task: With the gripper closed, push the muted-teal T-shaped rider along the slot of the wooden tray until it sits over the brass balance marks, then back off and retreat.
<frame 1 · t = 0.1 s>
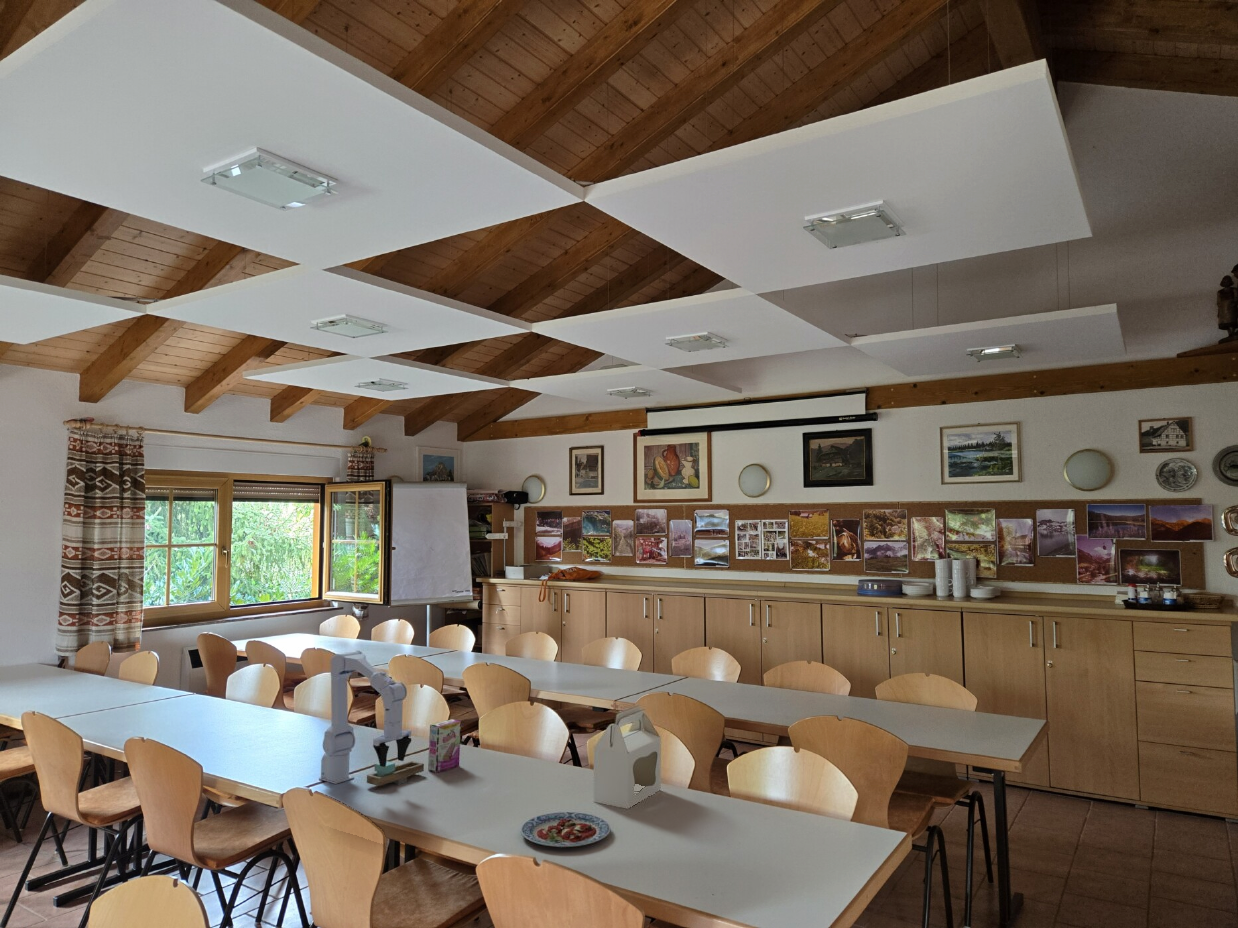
hand: (391, 763, 265), 10 cm above the table, fingers open, 7 cm apart
ceramic plate: (565, 836, 232), on the table
rider: (384, 770, 274), point 5 cm above the table, slide at -5.0 cm
gable box: (627, 796, 265), on the table
wooden tray: (395, 781, 278), on the table
candy bar box: (444, 768, 293), on the table
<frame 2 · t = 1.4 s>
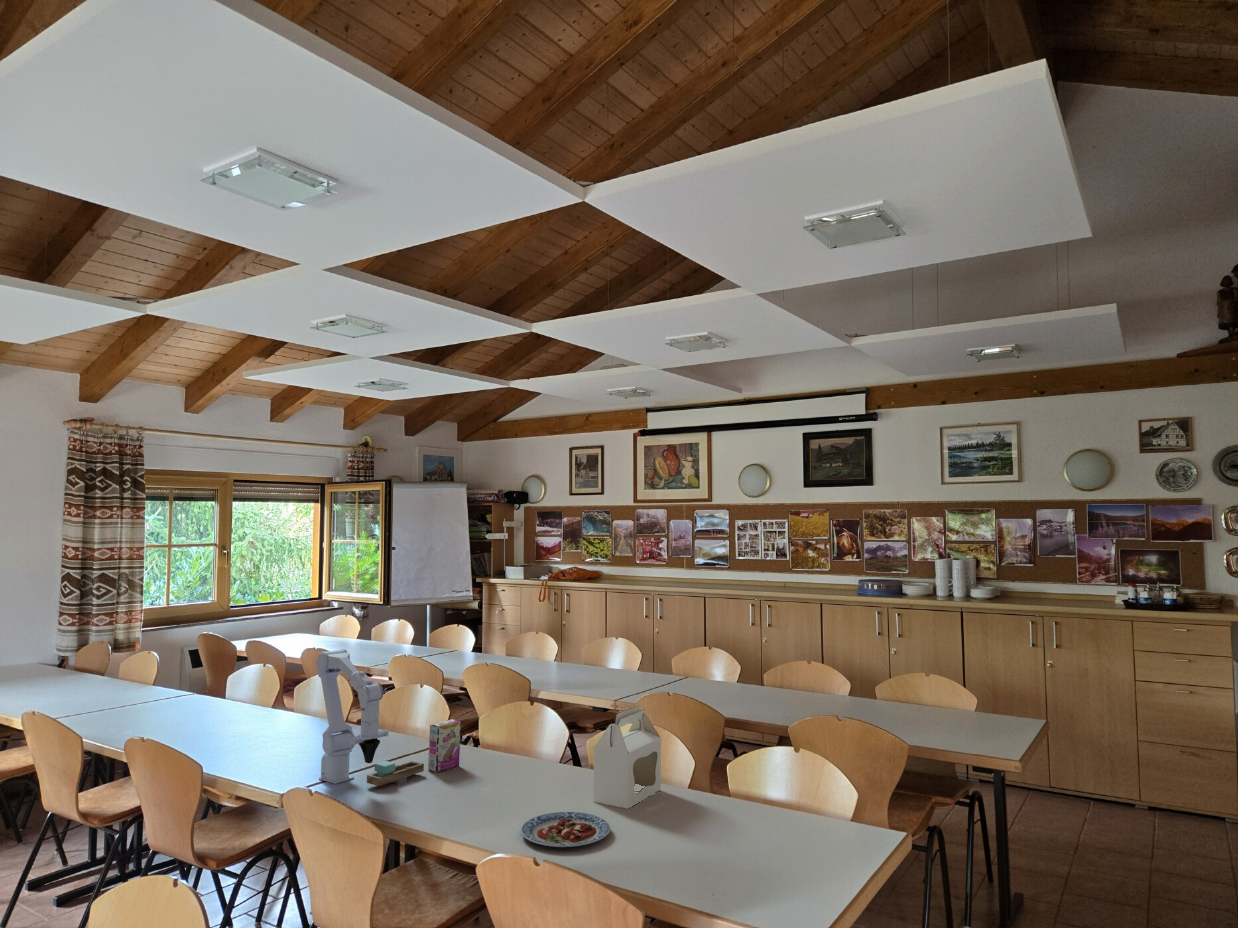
hand: (368, 762, 268), 9 cm above the table, fingers closed
nothing on the table moved.
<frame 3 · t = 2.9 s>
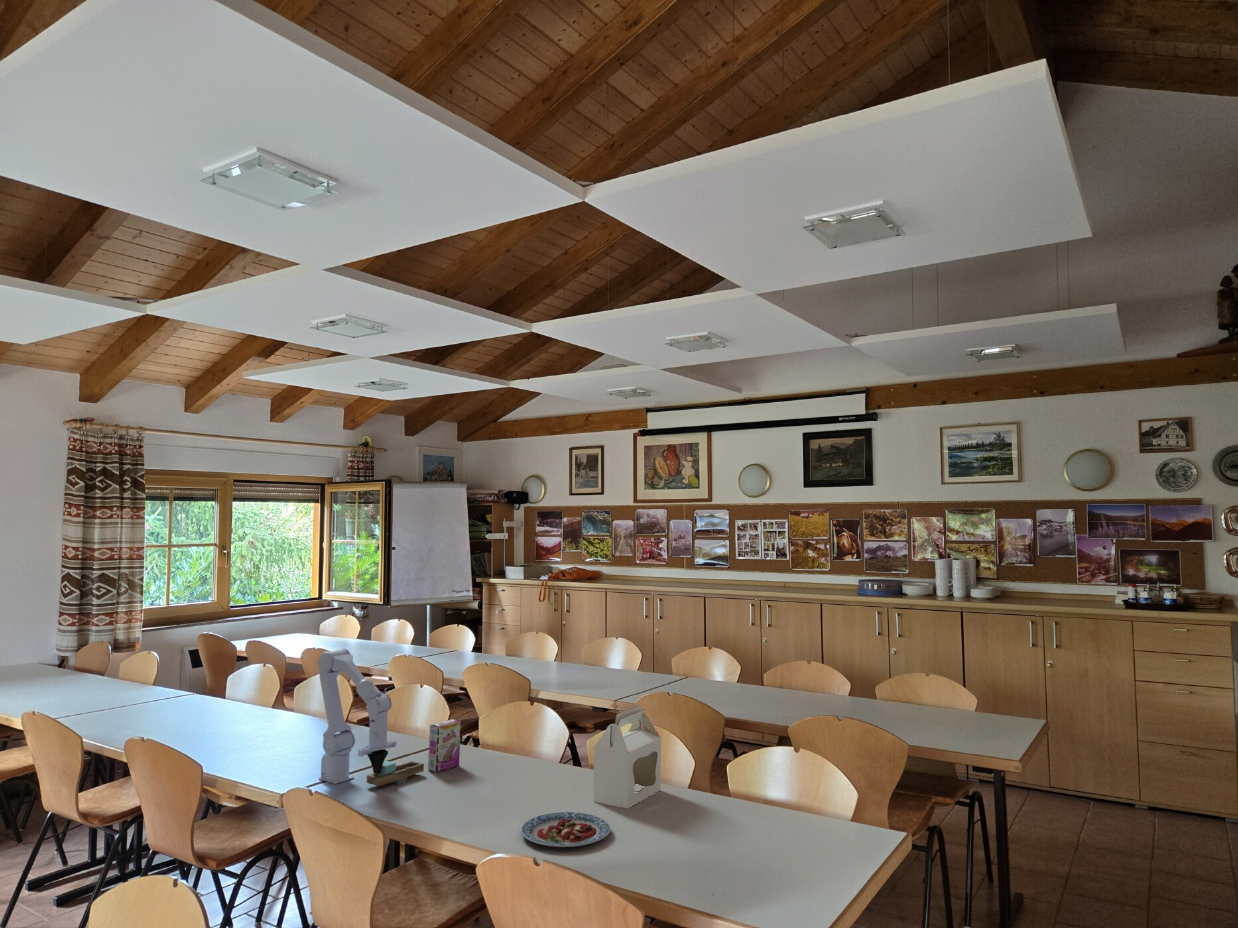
hand: (376, 773, 271), 5 cm above the table, fingers closed
rider: (385, 770, 274), point 5 cm above the table, slide at -4.8 cm, touching gripper
everything else where it was.
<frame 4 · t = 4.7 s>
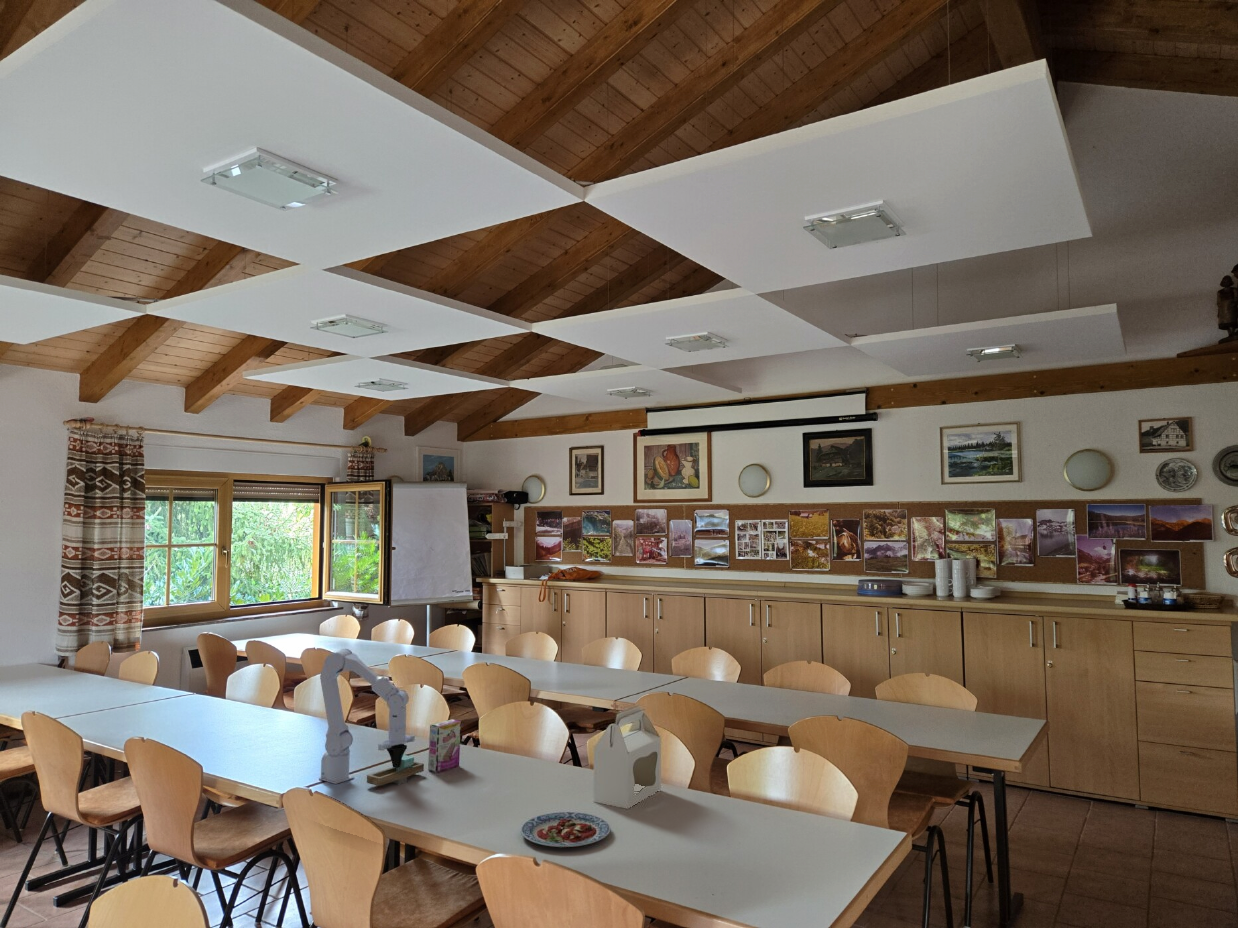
hand: (396, 766, 278), 5 cm above the table, fingers closed
rider: (404, 764, 281), point 5 cm above the table, slide at 3.5 cm, touching gripper
everything else where it was.
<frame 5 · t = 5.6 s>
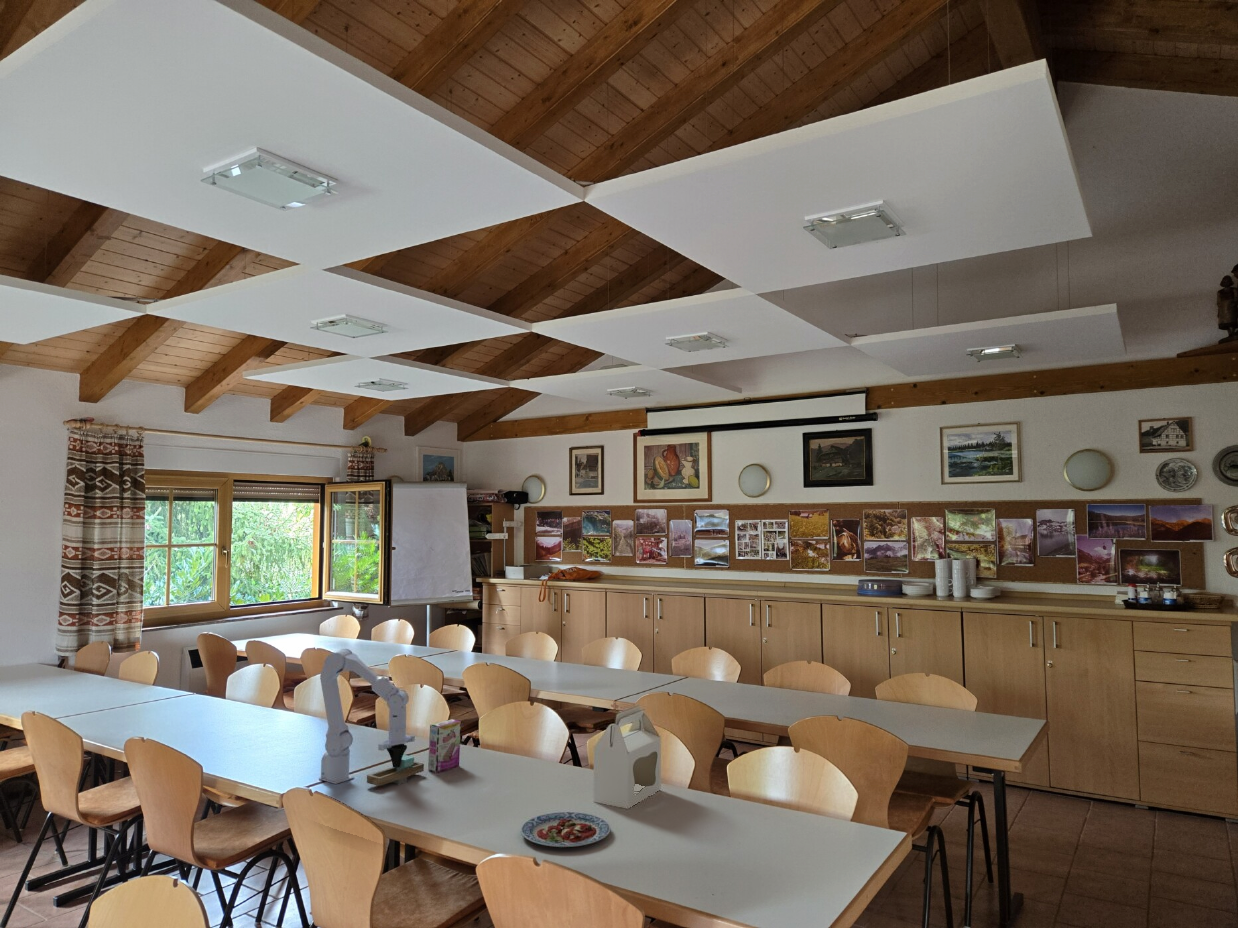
hand: (396, 766, 278), 5 cm above the table, fingers closed
nothing on the table moved.
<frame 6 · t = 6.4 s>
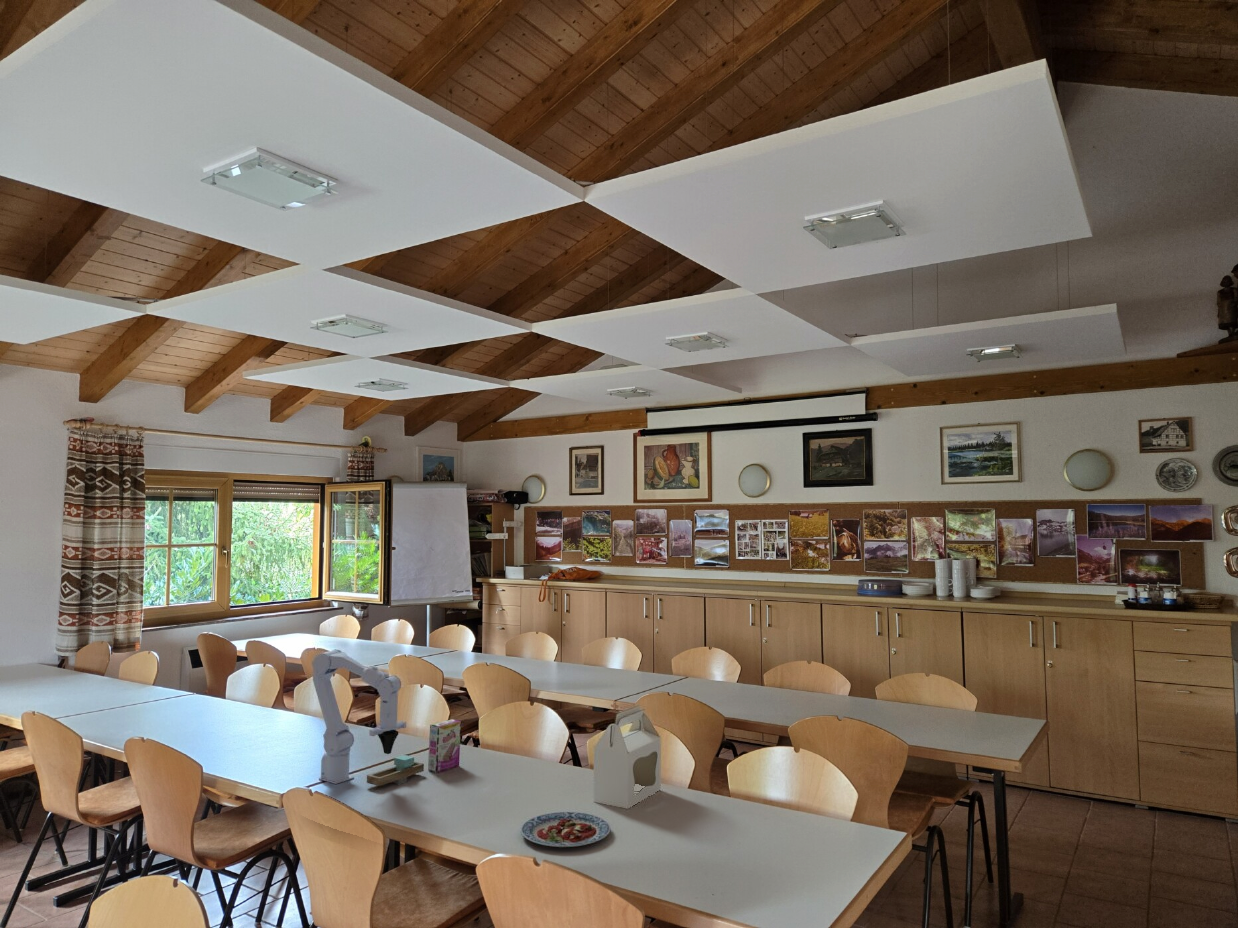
hand: (387, 753, 275), 10 cm above the table, fingers closed
rider: (404, 764, 281), point 5 cm above the table, slide at 3.5 cm
everything else where it was.
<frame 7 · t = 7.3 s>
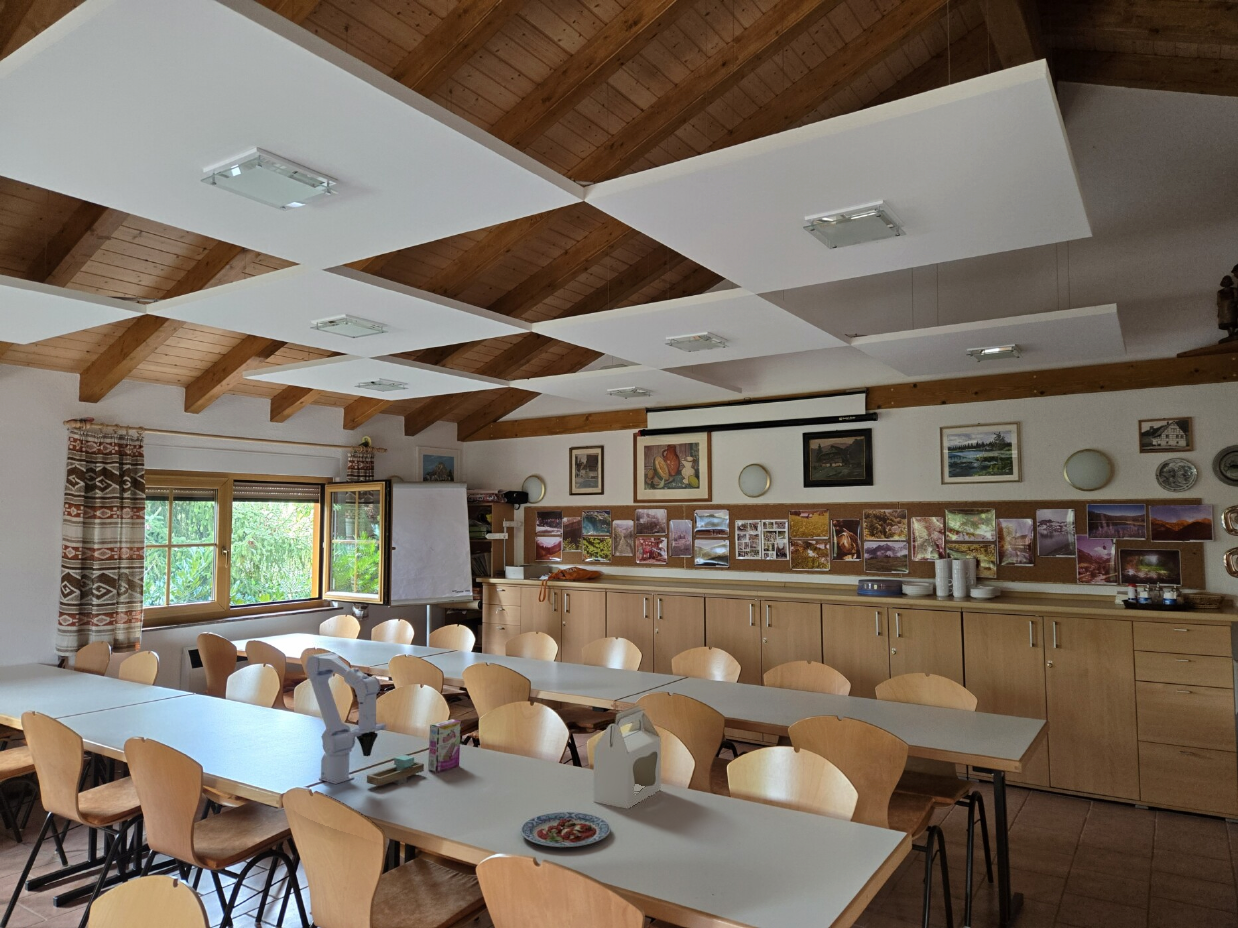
hand: (366, 755, 272), 10 cm above the table, fingers closed
nothing on the table moved.
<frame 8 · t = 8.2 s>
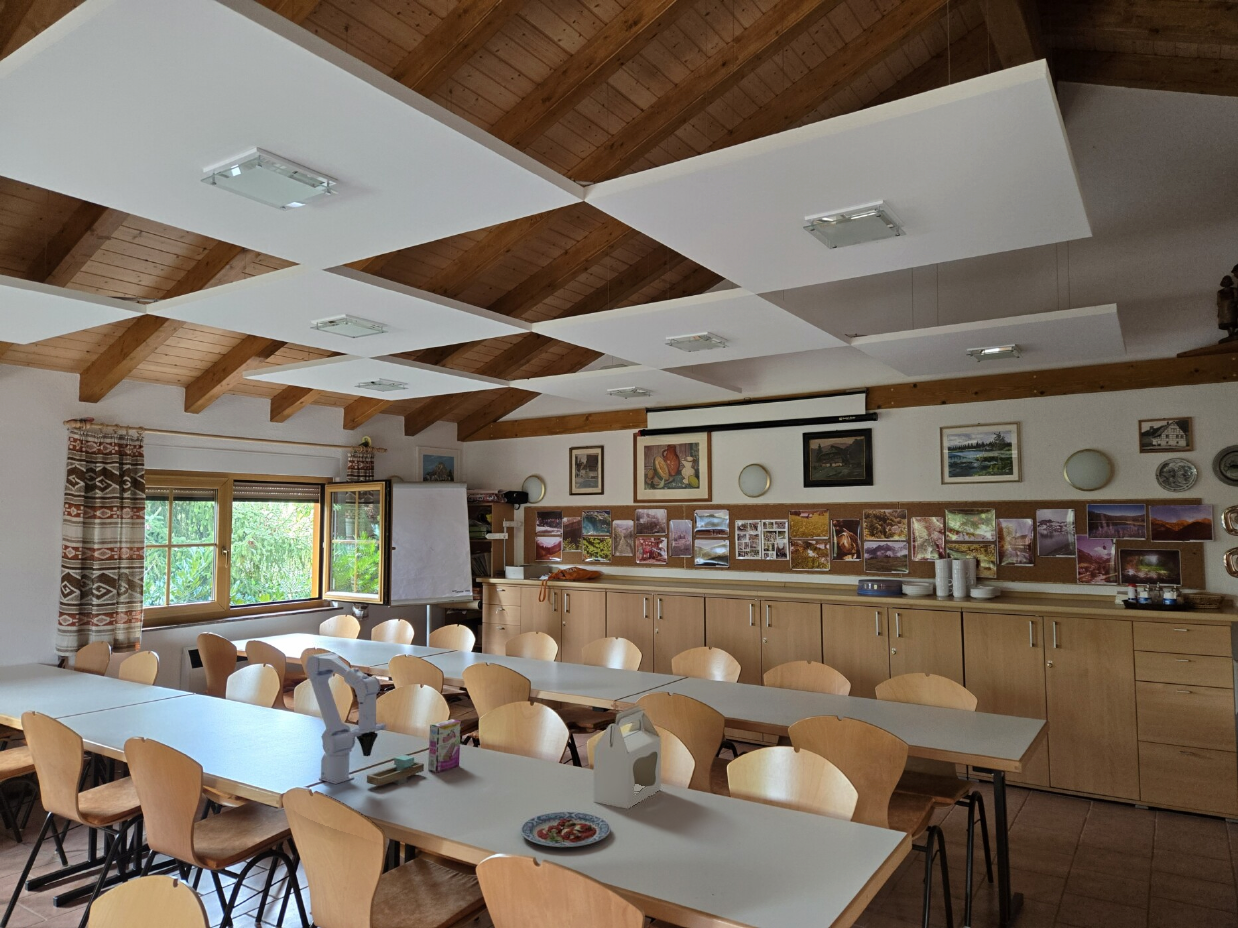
hand: (366, 755, 272), 10 cm above the table, fingers closed
nothing on the table moved.
at the end: rider slide at 3.5 cm; rider 0.2 cm from the target spot, point 4.9 cm above the table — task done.
